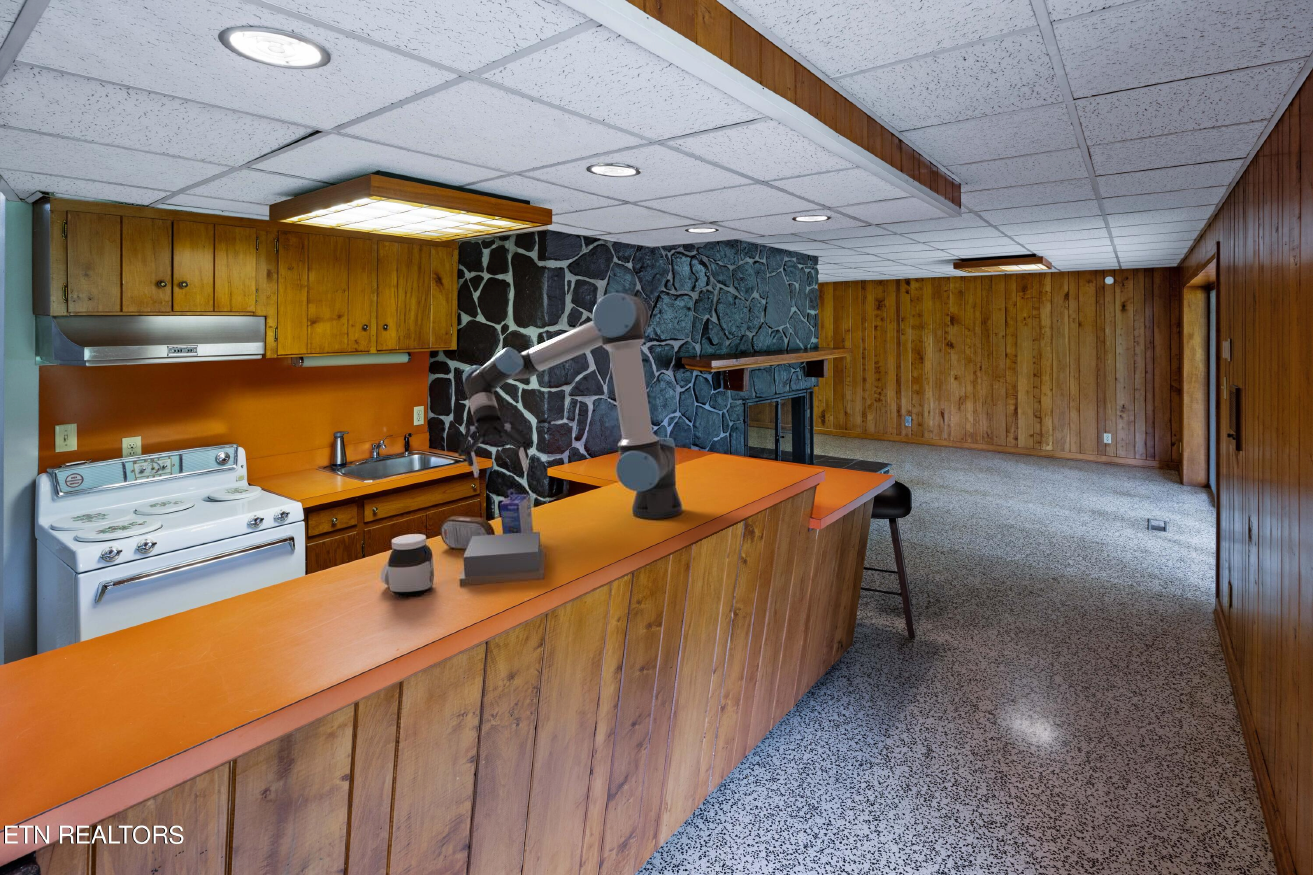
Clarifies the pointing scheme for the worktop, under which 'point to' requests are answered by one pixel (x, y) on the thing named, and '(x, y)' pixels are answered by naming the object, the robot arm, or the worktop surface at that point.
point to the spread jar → (409, 566)
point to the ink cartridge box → (516, 514)
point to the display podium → (503, 558)
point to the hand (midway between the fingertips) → (502, 471)
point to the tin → (463, 530)
